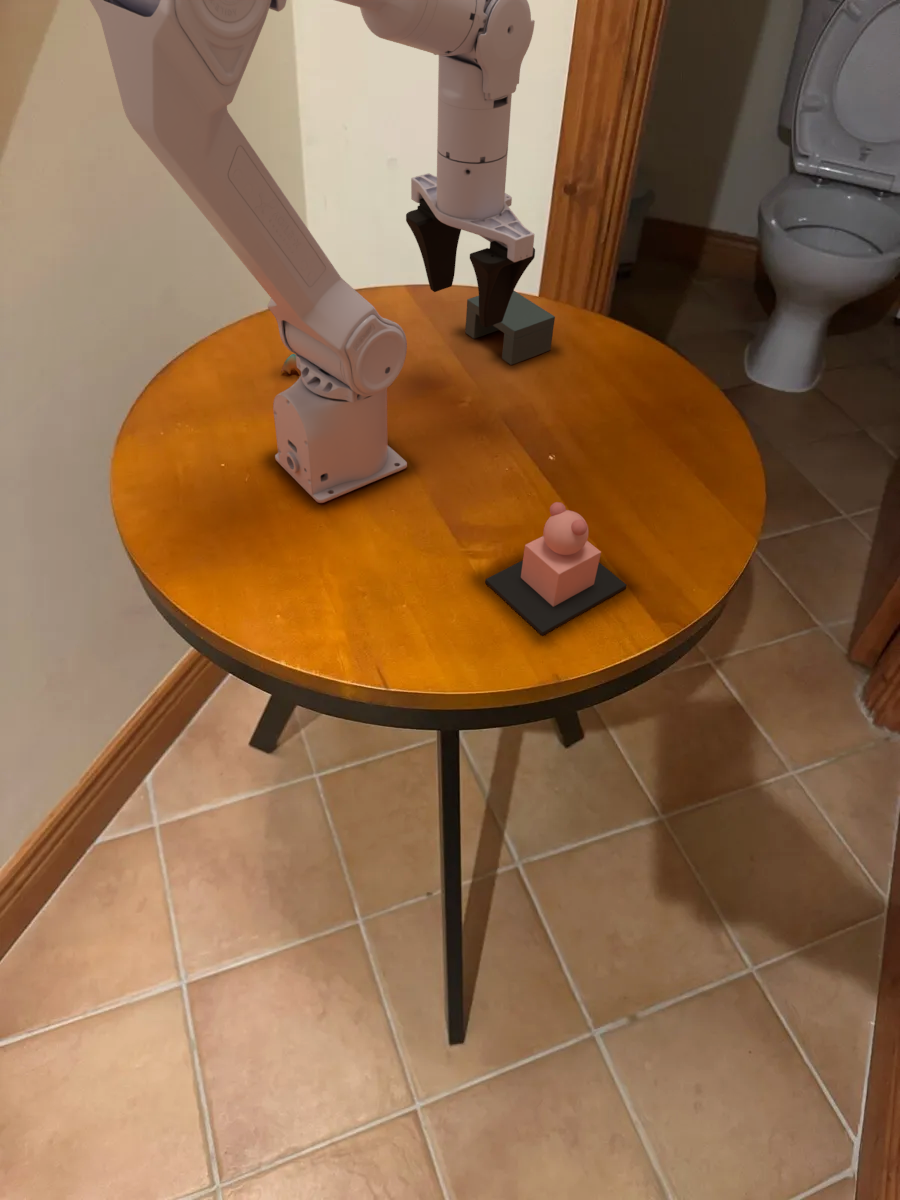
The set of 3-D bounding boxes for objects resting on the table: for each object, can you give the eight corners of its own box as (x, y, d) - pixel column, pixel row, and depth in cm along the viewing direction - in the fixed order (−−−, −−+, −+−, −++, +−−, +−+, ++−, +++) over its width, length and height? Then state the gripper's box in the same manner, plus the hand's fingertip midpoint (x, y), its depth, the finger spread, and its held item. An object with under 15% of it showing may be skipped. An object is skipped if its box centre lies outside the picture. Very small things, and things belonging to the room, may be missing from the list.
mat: (542, 635, 69) (542, 632, 69) (484, 582, 73) (485, 579, 72) (626, 588, 73) (627, 584, 73) (567, 540, 77) (568, 536, 76)
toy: (553, 607, 70) (565, 538, 65) (520, 577, 73) (529, 508, 67) (594, 584, 72) (609, 516, 67) (560, 556, 75) (573, 488, 69)
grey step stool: (511, 365, 96) (514, 331, 93) (465, 332, 100) (467, 299, 97) (550, 350, 98) (555, 316, 95) (503, 319, 102) (507, 285, 100)
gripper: (569, 169, 71) (550, 325, 81) (457, 113, 79) (453, 262, 89) (499, 189, 68) (489, 350, 78) (390, 129, 76) (393, 282, 86)
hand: (465, 305), depth 83 cm, fingers open, 7 cm apart
